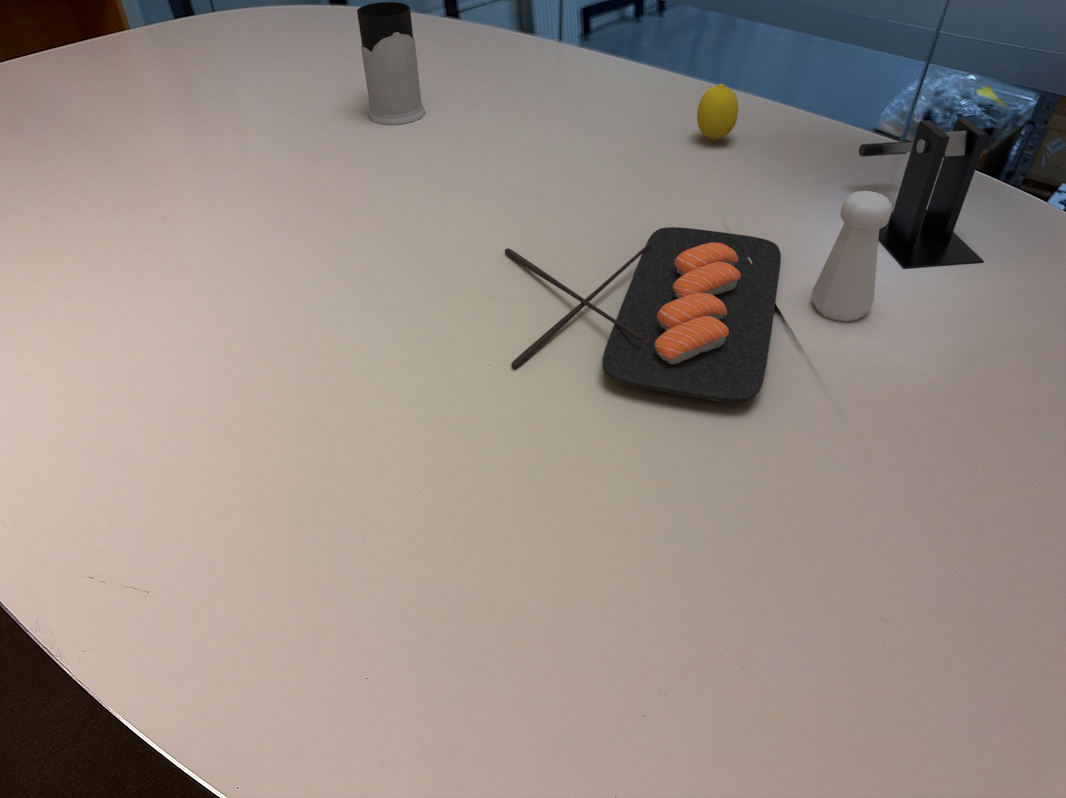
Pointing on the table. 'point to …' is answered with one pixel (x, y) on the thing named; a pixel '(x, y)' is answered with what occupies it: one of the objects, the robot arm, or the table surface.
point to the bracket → (933, 200)
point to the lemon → (717, 112)
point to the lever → (892, 148)
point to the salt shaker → (853, 259)
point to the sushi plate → (688, 315)
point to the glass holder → (390, 63)
